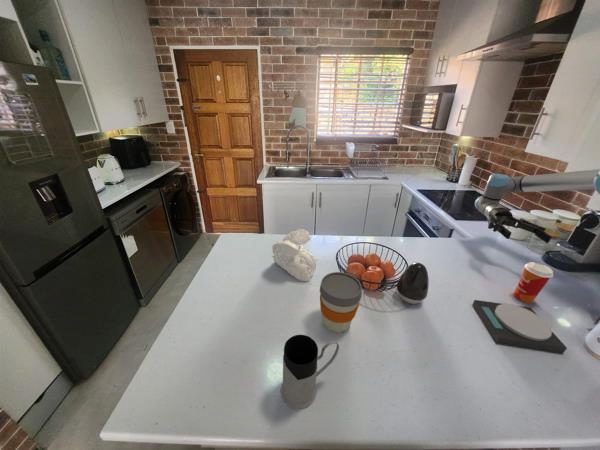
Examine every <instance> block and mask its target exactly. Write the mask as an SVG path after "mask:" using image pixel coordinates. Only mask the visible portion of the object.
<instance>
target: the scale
mask: <svg viewBox="0 0 600 450" xmlns="http://www.w3.org/2000/svg"><path fill="white" fill-rule="evenodd" d="M472 307H473V310H474V311H475V312H476V314H477V315H478V318H480V320H481V322H482V323H483V326H484V327H485V328H486V330H487V331H488V333H489V335H490V336H491V338H492V340H493V341H494V343H495V344H498V345H504V346H505V345H506V346H511V347H517V348H522V349H523V348H524V349H530V350H535V351H536V350H537V351H543V352H550V353H557V354H564V353H565V351H567V349H568V346H566V345H565V344H564V343H563V342H562V340H561V339H560V338H559V337H558V336H557V335H556V334H555V333H554V332H553V330H552V328H551V326H550V325H549V324H548V323H547V322H546V320H544V319H543V318H542V317H541V316H539V314H537V313H536V312H535V310H534V309H533V308H532V307H530V306H522V305H515V304H512V303H500V302H493V301H485V300H478V299H474V300H473V302H472Z"/></svg>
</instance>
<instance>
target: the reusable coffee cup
mask: <svg viewBox="0 0 600 450" xmlns="http://www.w3.org/2000/svg"><path fill="white" fill-rule="evenodd" d="M362 292H363V286H362V283H361V282H360V280H359V279H358V278H356V277H355V276H354V275H352V274H350V273H346V272H342V271H334V272H330V273H328V274H327V273H326V275H324V276H323V277H322V279H321V281H320V287H319V293H320V294H319V305H320V307H319V308H320V312H321V316H322V323H323V325H324V326H325V328H326V329H328V330H330V331H331V332H333V333H342V332H346V331H347V330H348V329H349V328H350V326H351V324H352V321H353V319H354V318H355V317H356V314H357V311H358V309H359V307H360V301H361V300H362V295H363V293H362Z"/></svg>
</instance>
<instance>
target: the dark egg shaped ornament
mask: <svg viewBox="0 0 600 450" xmlns="http://www.w3.org/2000/svg"><path fill="white" fill-rule="evenodd" d="M429 286H430V279H429V272H428V270H427V267H426V266H425V265H424V264H422V263H421V262H413V263H411V264H409V265H408V266H407V267H406V268H405V270H404V271H403V272H402V273H401V275H400V277H399V279H398V281H397V284H396V290H397V294H398V295H399V297H400V298H401V299H402V300H403V301H404V302H405V303H408V304H412V305H414V304H415V305H416V304H420V303H421V302H423V301H424V300H425V299H427V296H428V294H429Z"/></svg>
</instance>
